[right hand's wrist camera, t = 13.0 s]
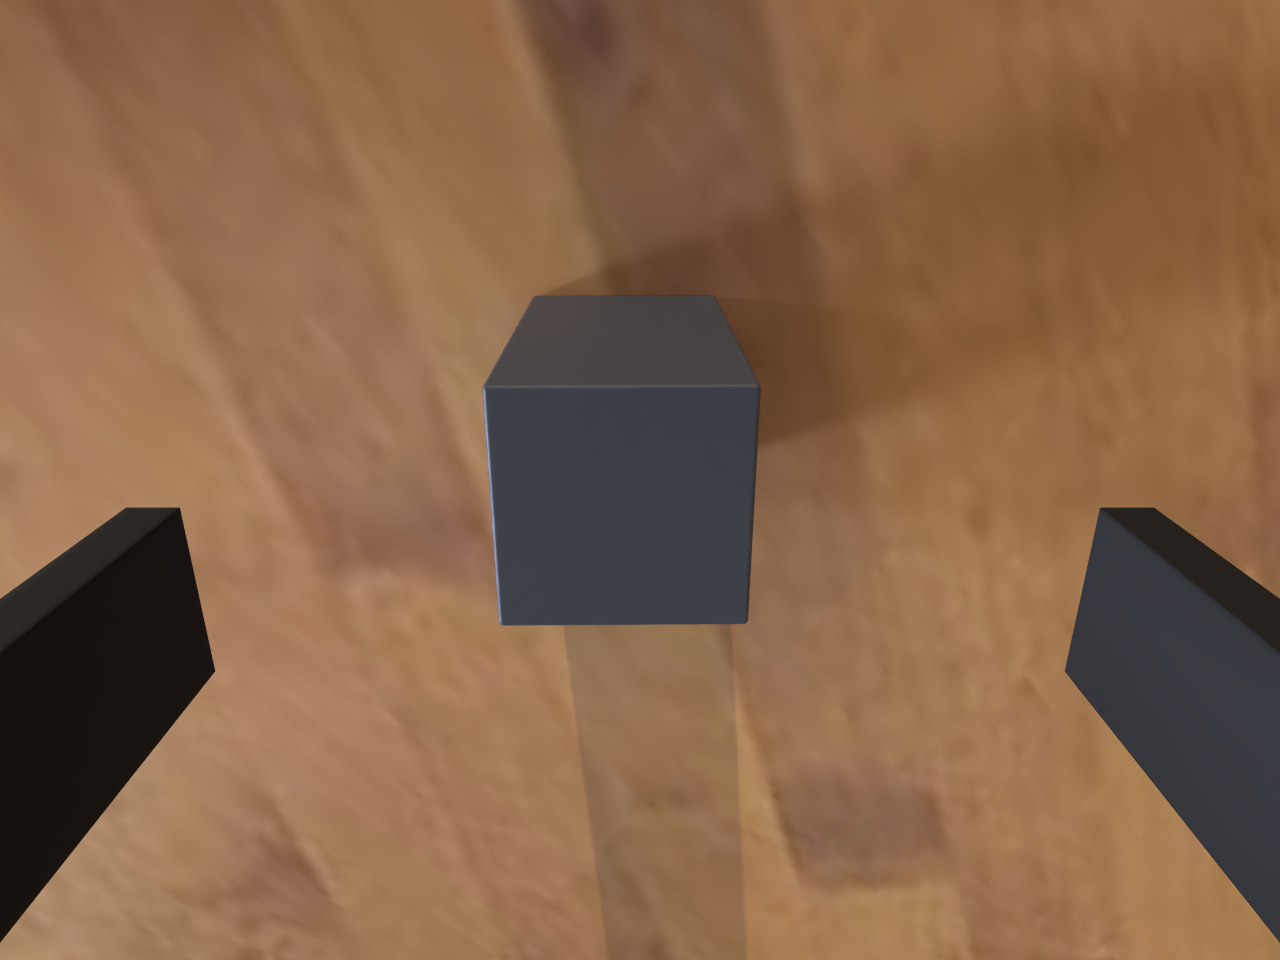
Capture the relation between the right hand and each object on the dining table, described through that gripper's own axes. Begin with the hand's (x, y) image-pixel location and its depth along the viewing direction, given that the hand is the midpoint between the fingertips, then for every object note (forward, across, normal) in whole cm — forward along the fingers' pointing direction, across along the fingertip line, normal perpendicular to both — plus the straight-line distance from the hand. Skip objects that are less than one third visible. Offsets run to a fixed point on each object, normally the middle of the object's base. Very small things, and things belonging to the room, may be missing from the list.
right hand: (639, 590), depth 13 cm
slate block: (+10, 0, 0) cm, 10 cm away
